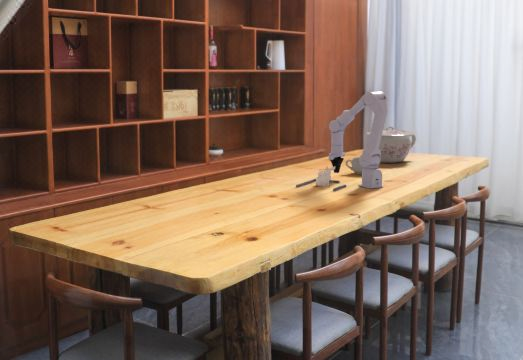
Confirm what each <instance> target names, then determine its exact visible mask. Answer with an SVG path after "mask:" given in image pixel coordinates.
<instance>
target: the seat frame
mask: <svg viewBox="0 0 523 360" xmlns="http://www.w3.org/2000/svg"><path fill="white" fill-rule="evenodd" d="M313 183H316V178H313V179H311V180H307V181H304V182H302V183H301V182H300V183H299V184H296V185H295V188H300V187H304V186H306V185H309V184H313ZM329 183H334V184H340V183H341V181H340V180H338V179H337V180H336V179H331V180H330V181H329ZM344 188H347V184H341V185H339V186H337V187H334V188H333V189H332V191H333V192H337V191H340V190H342V189H344Z"/></svg>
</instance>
